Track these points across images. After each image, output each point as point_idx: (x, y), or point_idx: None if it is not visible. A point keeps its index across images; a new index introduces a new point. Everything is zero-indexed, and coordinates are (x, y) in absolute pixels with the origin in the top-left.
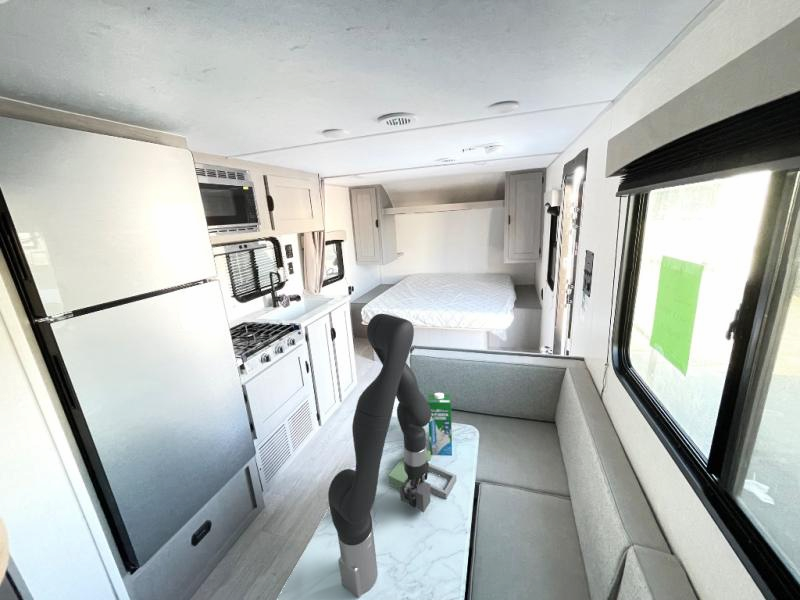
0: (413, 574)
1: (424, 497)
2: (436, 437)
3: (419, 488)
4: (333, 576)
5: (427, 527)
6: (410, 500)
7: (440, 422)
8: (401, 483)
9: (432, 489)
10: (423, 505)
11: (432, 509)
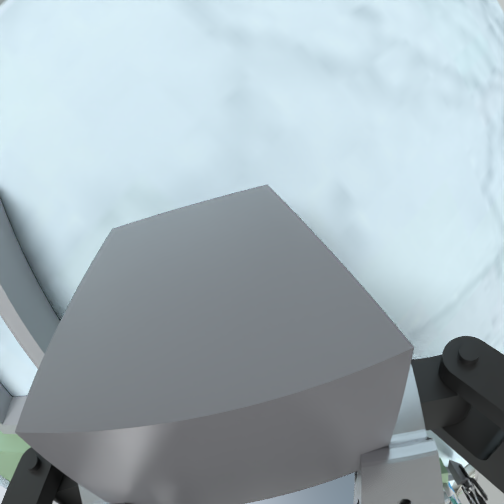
0: (485, 43)
1: (294, 288)
2: None
3: (291, 479)
4: None
5: (275, 104)
6: (501, 357)
7: None
8: None
9: (28, 305)
10: (295, 215)
11: (123, 186)
